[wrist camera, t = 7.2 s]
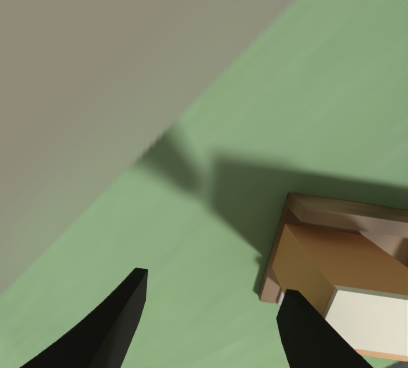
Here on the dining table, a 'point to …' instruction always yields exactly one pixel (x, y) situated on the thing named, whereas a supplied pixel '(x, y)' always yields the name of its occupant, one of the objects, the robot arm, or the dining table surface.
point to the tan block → (348, 287)
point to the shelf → (339, 229)
